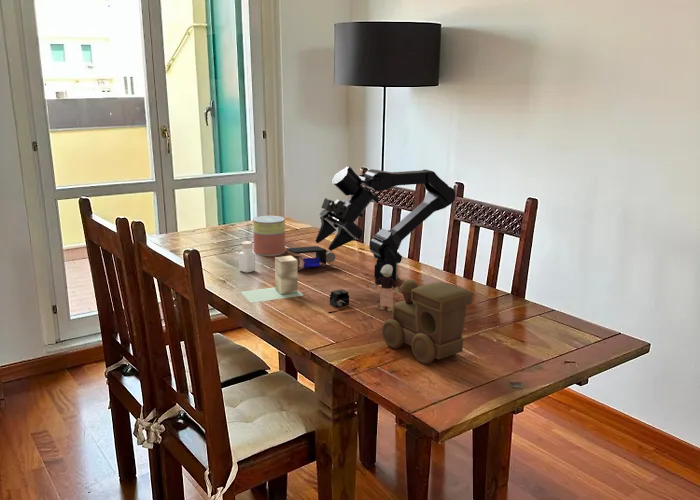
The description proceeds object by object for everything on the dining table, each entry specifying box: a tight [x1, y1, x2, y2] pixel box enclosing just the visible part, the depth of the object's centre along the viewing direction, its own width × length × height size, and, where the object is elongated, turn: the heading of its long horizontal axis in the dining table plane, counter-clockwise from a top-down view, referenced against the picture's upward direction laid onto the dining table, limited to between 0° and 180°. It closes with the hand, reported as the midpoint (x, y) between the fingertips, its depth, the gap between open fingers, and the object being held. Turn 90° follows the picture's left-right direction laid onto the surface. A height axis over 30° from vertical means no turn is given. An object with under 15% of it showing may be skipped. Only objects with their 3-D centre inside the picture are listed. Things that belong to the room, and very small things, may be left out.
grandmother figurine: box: [372, 264, 400, 312], centre depth 179 cm, size 8×4×13 cm, turn 71°
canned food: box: [252, 214, 286, 257], centre depth 232 cm, size 11×11×12 cm
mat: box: [239, 286, 304, 304], centre depth 189 cm, size 16×10×1 cm, turn 116°
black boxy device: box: [327, 289, 350, 314], centre depth 181 cm, size 13×8×5 cm, turn 125°
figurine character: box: [286, 245, 336, 271], centre depth 215 cm, size 7×8×15 cm
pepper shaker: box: [238, 240, 257, 274], centre depth 210 cm, size 4×4×10 cm
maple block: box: [274, 255, 299, 295], centre depth 190 cm, size 5×5×10 cm
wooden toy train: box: [381, 279, 473, 365], centre depth 152 cm, size 20×11×17 cm, turn 38°
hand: (322, 245), depth 192 cm, fingers open, 9 cm apart
